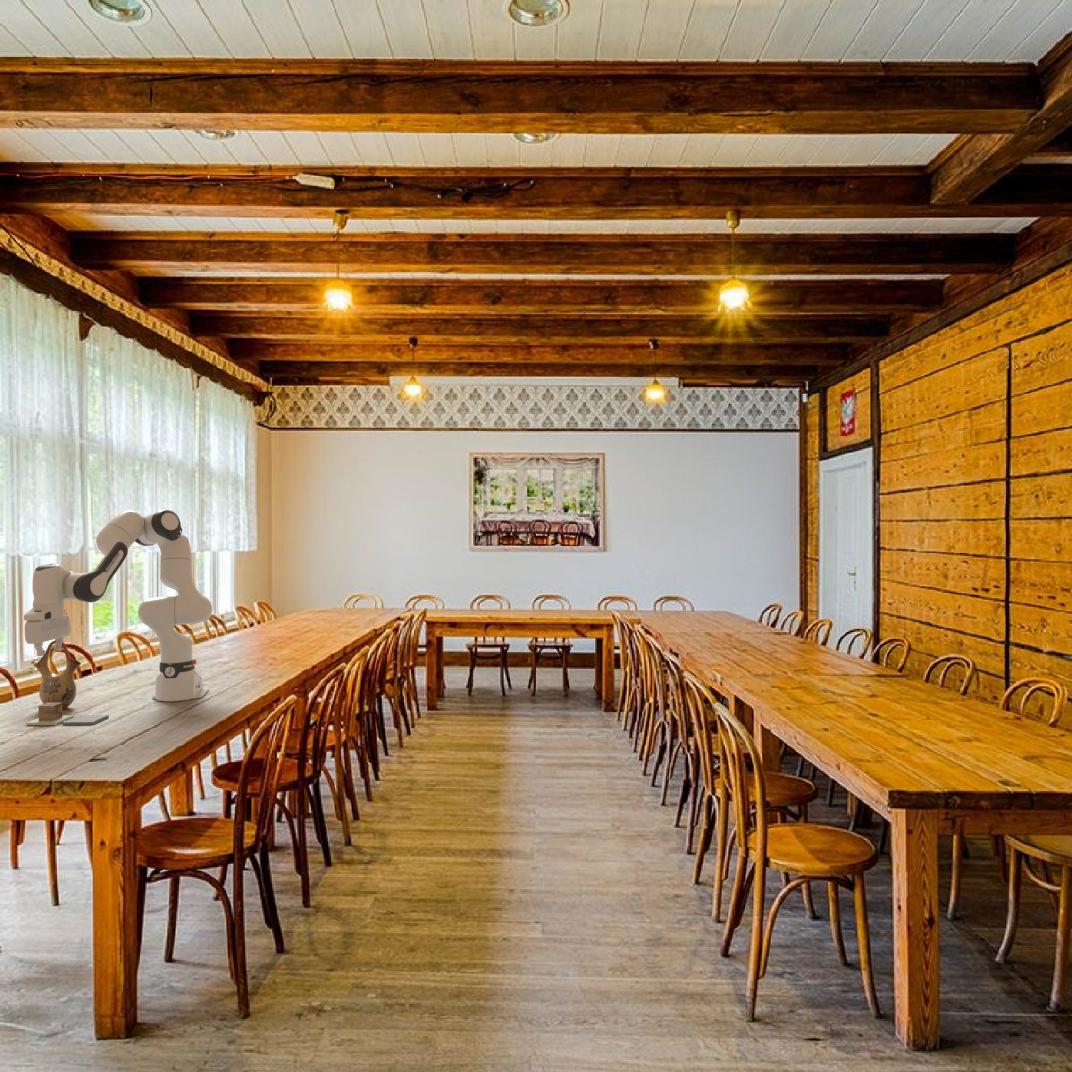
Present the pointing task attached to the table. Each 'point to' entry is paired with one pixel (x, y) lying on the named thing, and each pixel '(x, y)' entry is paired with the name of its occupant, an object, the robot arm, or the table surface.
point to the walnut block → (50, 711)
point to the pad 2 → (85, 719)
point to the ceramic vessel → (57, 680)
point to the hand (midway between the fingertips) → (49, 653)
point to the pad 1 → (55, 722)
